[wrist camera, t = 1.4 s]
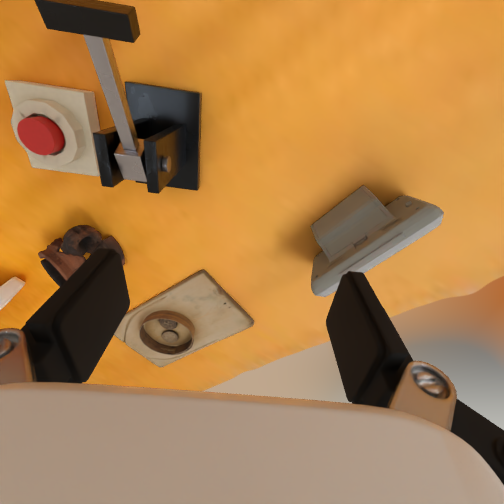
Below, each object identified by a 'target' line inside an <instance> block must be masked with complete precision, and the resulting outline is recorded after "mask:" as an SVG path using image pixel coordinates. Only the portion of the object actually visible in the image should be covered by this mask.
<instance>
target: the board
mask: <svg viewBox="0 0 504 504" xmlns="http://www.w3.org/2000/svg"><path fill="white" fill-rule="evenodd" d="M253 325H254V320H253V319H252V318H251V317H250V316H249V315H248V314H247V313H246V312H245V311H244V310H243V309H242V308H241V307H240V306H239V305H238V304H237V303H236V302H235V301H234V300H233V299H232V297H230V296H229V295H228V294H227V293H226V292H225V291H224V290H223V289H222V288H221V287H220V286H219V285H218V283H217V282H216V281H215V280H214V279H213V278H212V277H211V276H210V275H209V274H208V273H207V272H206V271H205V270H201V271H199V272H197V273H195V274H193V275H191V276H190V277H188V278H186V279H185V280H183V281H181V282H180V283H178V284H176V285H174V286H173V287H171V288H169V289H167V290H166V291H164V292H162V293H160V294H159V295H157V296H156V297H154V298H152V299H150V300H149V301H147V302H145V303H143V304H142V305H140V306H138V307H136V308H135V309H133V310H131V311H130V312H128V313H126V314H125V316H124V318H123V319H122V321H121V323H120V325H119V326H118V328H117V330H116V332H115V333H114V335H115V336H116V337H117V338H119V339H120V340H121V341H123V342H125V343H126V345H128V346H129V347H131V348H132V349H133V350H135V351H136V352H138V353H139V354H141V355H142V356H143V357H146V359H148V360H149V361H151V362H152V363H154V364H155V365H157V366H158V367H164V366H166V365H168V364H170V363H172V362H174V361H176V360H178V359H181V358H183V357H185V356H187V355H189V354H191V353H194V352H196V351H198V350H200V349H202V348H205V347H207V346H209V345H211V344H213V343H216V342H218V341H220V340H222V339H225V338H227V337H230V336H232V335H234V334H236V333H239V332H241V331H243V330H245V329H247V328H249V327H251V326H253Z"/></svg>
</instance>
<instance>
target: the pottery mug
mask: <svg viewBox="0 0 504 504" xmlns="http://www.w3.org/2000/svg"><path fill="white" fill-rule="evenodd" d="M60 248H61V250H62V251H63V252H59V249H60ZM98 248H108V249H115V250H116V252H117V253H119V254H120V256H121V260H122V265H124V264H125V258H124V255H123V251H122V250H121V247H120V246H119V244H118V243H117V242H116V240H115V239H114V238H113V237H112V236H110V237H108V238H107V239H104V240H102V236H101V234H100V233H99V232H98V231H96V230H95V229H94V228H92V227H91V226H88V225H79V226H75V227H73V228H71V229H70V230H68V231H67V232H66V234H65V235H64V238H63V240H62V239H61V238H58V239H55V240H54V242H52V243H51V244H50V245H48V246H47V249H46V250H44V251H41V252H39V253H38V255H39V257H40V258H45V259H43V260H42V261H41V264H42V266H43V267H44V269H45V270H46V271H47V273H48V274H49V275H50V277H51V278H52V279H53V280H54V281H55V282H56V283H57V284H58V285H59V286H60V287H61V286H62V285H63V284H64V283H65V282H66V281H67V279H68V278H69V277H70V276H71V275H72V274H73V273H74V272H75V271H76V270H77V269H78V268H79V267H80V266H81V265H82V264H83V263H84V262H85V261H86V259H85V257H84V256H83V255H84V254H85V253H86V252H87V253H91V255H92V254H93V253H94V252H95V251H96V250H97V249H98ZM91 255H90V256H91Z"/></svg>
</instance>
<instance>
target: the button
mask: <svg viewBox="0 0 504 504" xmlns="http://www.w3.org/2000/svg"><path fill="white" fill-rule="evenodd" d="M17 132H18V136H19V138H20V140H21V142H22V143H23V144H24V145H25V147H27V148H28V149H29V150H30V151H32V152H34V153H36V154H38V155H49V154H52V153H55V152H58V151H60V150H61V149H62V148H63V146H64V142H65V141H64V135H63V133H62V131H61V129H60V128H59V127H58V125H57V124H56V123H55V122H53V121H52V120H50V119H48V118H46V117H42V116H37V117H30V118H24V119H22V120H21V121H20V122H19V124H18V127H17Z"/></svg>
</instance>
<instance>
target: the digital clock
mask: <svg viewBox="0 0 504 504" xmlns="http://www.w3.org/2000/svg"><path fill="white" fill-rule="evenodd" d="M443 213H444V212H443V211H442V210H441V209H440V208H439V207H437V206H436V205H433V204H431V203H428V202H425V201H422V200H419V199H416V198H413V197H410V196H405V195H404V196H400V197H398V198H397V199H395V200H394V201H392V202H391V203H390V204H388V205H387V206H385V207H384V205H383V204H382V203H381V202H380V201H379V200H378V198H377V197H376V196H375V195H374V194H373V193H372V192H371V191H370V190H369V189H367V188H366V187H365V186H364V185H363V186H361V188H359V189H357V190H356V191H355V192H354V193H352V194H351V195H350V196H348V197H347V198H346V199H345V200H343V201H342V202H341V203H339V204H338V205H337V206H336V207H334V208H333V209H332V210H330V211H329V212H328V213H327V214H325V215H324V216H323V217H321V218H320V219H319V220H318V221H316V222H315V223H314V224H312V225H311V229H312V232H313V234H314V237H315V239H316V241H317V243H318V244H319V246H320V247H321V248H322V250H323V251H322V252H321V253H319V254H318V255H317V256H316V257H315V258H314V261H313V268H312V276H311V289H312V291H313V293H314V294H315V295H316V296H323V297H326V296H328V295H330V294H331V293H333V292H335V291H336V290H337V288H338V285H339V283H340V280H341V277H342V275H343V274H346V273H347V272H348V271H353V272H362V273H365V272H367V271H368V270H370V269H371V268H373V267H375V266H376V265H378V264H379V263H381V262H383V261H384V260H386V259H387V258H389V257H391V256H392V255H394V254H395V253H397V252H399V251H400V250H402V249H403V248H405V247H407V246H408V245H410V244H411V243H413V242H415V241H416V240H418V239H419V238H421V237H422V236H424V235H426V234H427V233H429V232H430V231H432V230H433V229H435V228H436V227H438V226H439V225H440V224H441V221H442V218H443Z"/></svg>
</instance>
